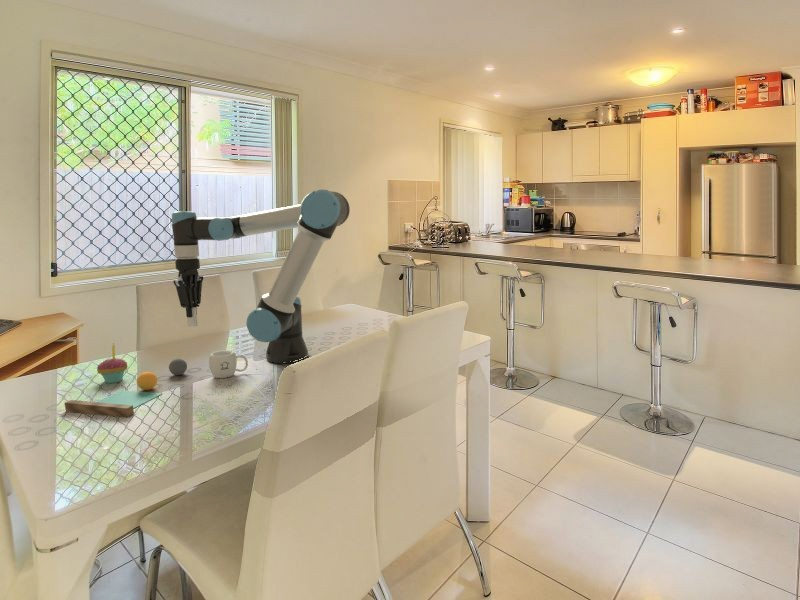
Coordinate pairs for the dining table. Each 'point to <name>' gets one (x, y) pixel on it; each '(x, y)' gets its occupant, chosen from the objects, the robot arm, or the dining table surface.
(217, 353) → the mug
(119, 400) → the teal mark
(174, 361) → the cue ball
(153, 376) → the orange ball
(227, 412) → the dining table surface
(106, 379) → the cupcake
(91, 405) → the wall
